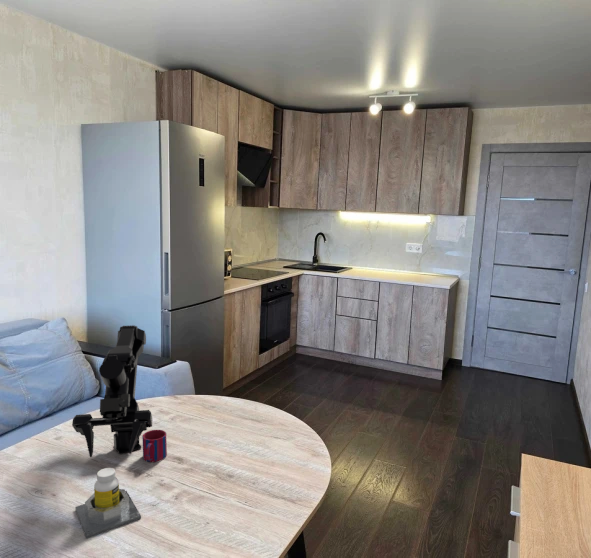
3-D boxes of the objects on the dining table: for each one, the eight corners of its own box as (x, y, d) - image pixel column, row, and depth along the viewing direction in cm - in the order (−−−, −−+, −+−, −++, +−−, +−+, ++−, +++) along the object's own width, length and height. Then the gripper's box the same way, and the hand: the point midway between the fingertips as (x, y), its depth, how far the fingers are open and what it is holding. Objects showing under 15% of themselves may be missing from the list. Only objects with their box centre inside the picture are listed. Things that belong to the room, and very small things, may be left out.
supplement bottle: (116, 517, 108) (114, 478, 107) (91, 518, 107) (89, 479, 106) (122, 503, 113) (120, 465, 112) (99, 504, 113) (97, 466, 111)
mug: (170, 451, 140) (169, 430, 139) (155, 469, 130) (155, 446, 129) (149, 450, 141) (148, 428, 140) (133, 467, 131) (132, 444, 130)
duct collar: (126, 493, 119) (126, 479, 118) (140, 518, 109) (140, 503, 108) (75, 509, 112) (74, 495, 111) (86, 538, 102) (85, 522, 102)
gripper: (72, 384, 116) (62, 448, 106) (150, 380, 119) (147, 441, 110) (81, 402, 124) (72, 462, 115) (153, 397, 128) (151, 455, 119)
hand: (110, 455), depth 115 cm, fingers open, 9 cm apart
